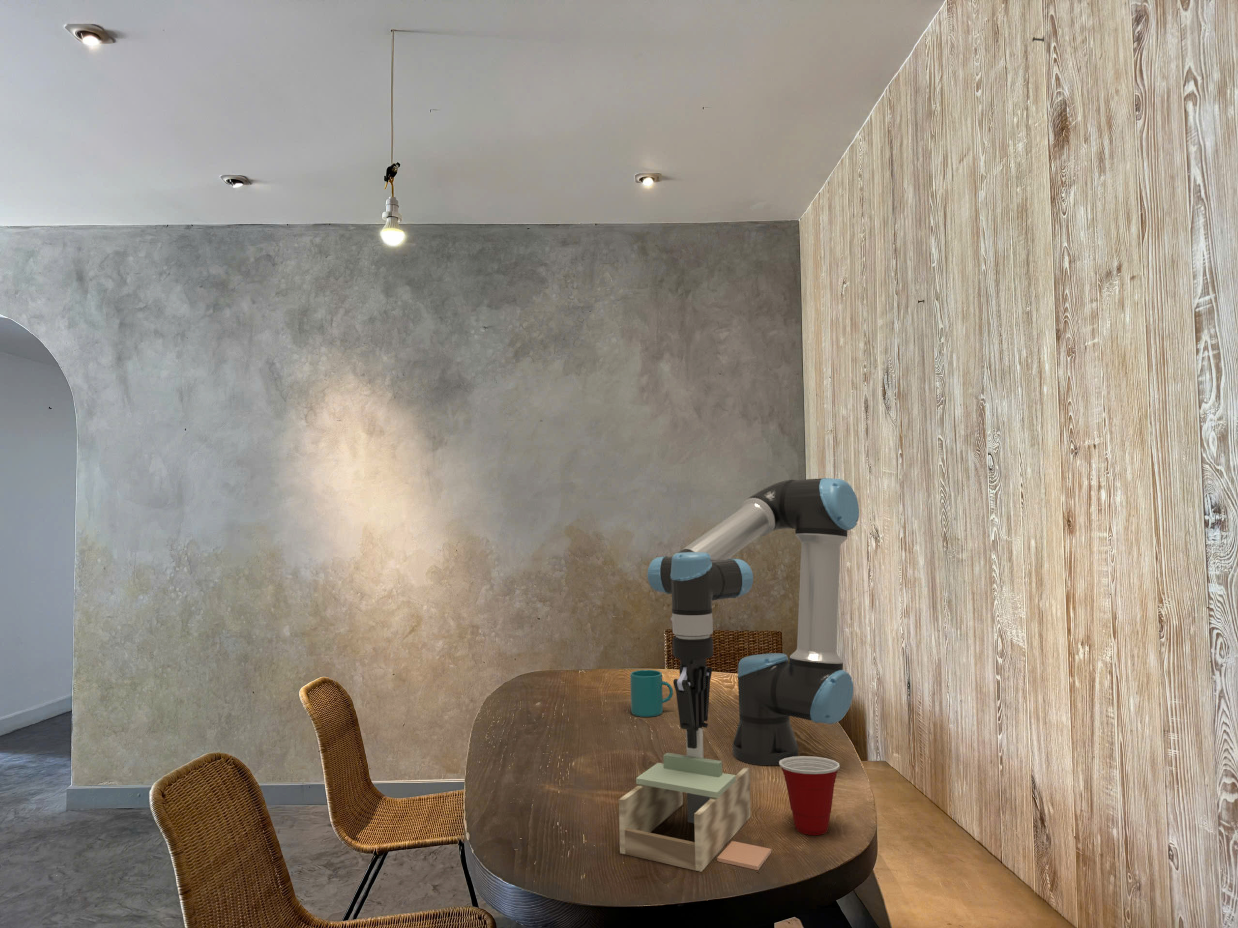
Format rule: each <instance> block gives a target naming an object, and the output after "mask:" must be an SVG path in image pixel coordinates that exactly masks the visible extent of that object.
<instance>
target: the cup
mask: <svg viewBox="0 0 1238 928" xmlns="http://www.w3.org/2000/svg"><path fill="white" fill-rule="evenodd" d="M629 678H630V682H629V683H630V712H631V714H632V715H633V716H636V717H640V718H653V717H654V718H655V717H658V716H660V715H662V713H663V712H664V704H665V703H668V702H669V701H670V700H671V699H672V698H673V695H674V693H673V692H674V689H673V687H672V685H671V684H670V683H669V682H667V681H664V680H663V673H662V672H661V671H659V670H656V669H655V670H654V669H638V670H635V671H632V672H630V674H629ZM663 686H665V687H667V689H668V690H669V694H668V696H667V697H665V698H664V697H663Z"/></svg>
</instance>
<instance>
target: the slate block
mask: <svg viewBox="0 0 1238 928" xmlns="http://www.w3.org/2000/svg"><path fill="white" fill-rule="evenodd" d="M711 798H712V797H707V796H702V795H696V794H691V793H686V801H687V803H686V805H687V806H686V807H687V809H686V810H687V823H691V824H694V814H695V813H696V812H697V811H698V810H699V809H700V808H701V807H702V806H703V805H704V804H705V803H706V802H708V801H709V800H710V799H711Z"/></svg>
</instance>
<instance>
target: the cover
mask: <svg viewBox="0 0 1238 928" xmlns="http://www.w3.org/2000/svg"><path fill="white" fill-rule="evenodd" d="M662 756H663V759H662V760H663V763H662V762H657V763H656V764H654V765H652V766H650V768H649V769H647V770H645V771H644V772H643V773H641V774H640V775H638V776H637V777H636V778H635V782H636V785H639V784H640V785H646V786H651V787H657V788H663V789H668V790H674V791H679V792H683V793H686V794H687V793H691V794H696V795H702V796H707V797H713V798H718V797H719V796H720V795H722V794H723V793H724V792H725V791H726V790H727V789H728V788H729V787H730V786H731V785H732V784H733V783H734V782H735V781H736V775H737V774H736V775H735V774H730V773H724V772H723V761H722V760H717V759H710V758H704V757H703V758H699V757H692V756H687V754H678V753H673V752H672V753H671V752H666V753H665V754H663V755H662Z"/></svg>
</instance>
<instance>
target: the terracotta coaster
mask: <svg viewBox="0 0 1238 928" xmlns="http://www.w3.org/2000/svg"><path fill="white" fill-rule="evenodd" d="M771 854H772V848H768V847H763V846H760V845H755V844H754V845H753V844H749V843H744V842H740V841H735V840H731V841H730V843H729V844H728V845H727V846H726V848H724V849H723V851H722V852H721V853H720V854H719V855H718V856H716V857H717V858H716V859H717V861H716V862H719V863H723V864H727V865H732V866H737V867H741V868H745V869H750V870H756V871H759V870H760V868H761V867H762V866H763V864H764V863H765V862H766V861H767V859H768V858H769V856H770V855H771Z"/></svg>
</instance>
